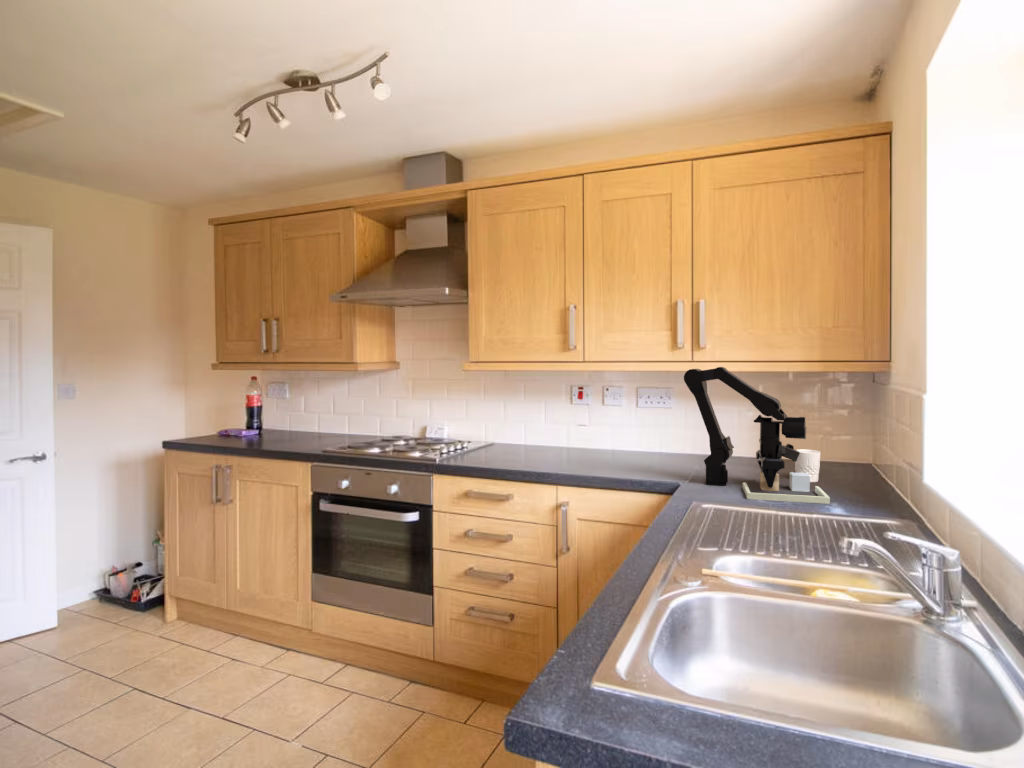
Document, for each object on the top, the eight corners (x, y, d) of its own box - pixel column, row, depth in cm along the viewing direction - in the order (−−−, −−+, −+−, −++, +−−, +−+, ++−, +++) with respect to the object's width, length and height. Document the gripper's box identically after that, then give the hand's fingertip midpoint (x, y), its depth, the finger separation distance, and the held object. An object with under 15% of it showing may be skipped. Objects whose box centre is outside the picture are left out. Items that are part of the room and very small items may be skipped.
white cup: (812, 477, 201) (812, 449, 201) (825, 482, 194) (825, 452, 193) (789, 478, 201) (790, 449, 201) (801, 483, 193) (802, 453, 193)
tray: (747, 499, 172) (747, 493, 172) (742, 488, 186) (742, 482, 186) (829, 503, 166) (830, 497, 166) (818, 492, 180) (818, 486, 180)
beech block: (761, 490, 183) (761, 474, 183) (759, 486, 188) (759, 471, 188) (778, 491, 182) (779, 475, 182) (776, 487, 187) (776, 472, 187)
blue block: (792, 491, 182) (792, 475, 182) (789, 487, 187) (789, 472, 187) (809, 492, 181) (809, 476, 181) (806, 488, 186) (806, 473, 185)
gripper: (803, 442, 173) (802, 493, 174) (792, 434, 191) (791, 481, 192) (763, 440, 176) (762, 491, 177) (756, 433, 194) (755, 479, 195)
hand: (769, 485), depth 185 cm, fingers closed on beech block, 5 cm apart
